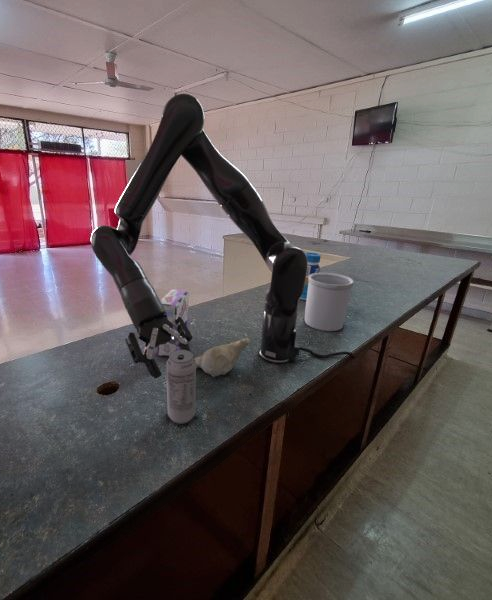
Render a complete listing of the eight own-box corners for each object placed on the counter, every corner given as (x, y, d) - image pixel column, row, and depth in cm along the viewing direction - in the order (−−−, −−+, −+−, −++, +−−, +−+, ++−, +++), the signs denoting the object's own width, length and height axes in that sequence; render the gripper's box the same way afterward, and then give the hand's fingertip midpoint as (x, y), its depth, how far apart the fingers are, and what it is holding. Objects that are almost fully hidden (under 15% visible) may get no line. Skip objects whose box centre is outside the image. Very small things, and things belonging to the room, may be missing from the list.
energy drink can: (196, 407, 72) (197, 349, 66) (193, 426, 66) (193, 364, 61) (170, 405, 72) (169, 347, 67) (164, 424, 66) (163, 362, 61)
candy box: (176, 358, 91) (176, 305, 85) (157, 356, 92) (155, 303, 86) (189, 337, 104) (189, 289, 98) (171, 335, 105) (171, 288, 99)
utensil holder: (337, 336, 107) (347, 287, 101) (296, 324, 116) (302, 278, 109) (349, 322, 118) (358, 277, 112) (310, 312, 127) (317, 270, 120)
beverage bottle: (293, 294, 147) (299, 252, 140) (311, 294, 148) (317, 252, 141) (300, 301, 139) (307, 256, 132) (319, 300, 140) (326, 256, 133)
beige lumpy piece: (191, 390, 81) (237, 367, 74) (180, 363, 83) (224, 338, 76) (220, 378, 94) (261, 358, 87) (210, 355, 96) (250, 334, 89)
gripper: (118, 303, 63) (153, 377, 59) (175, 289, 72) (208, 352, 69) (108, 319, 68) (139, 388, 65) (162, 304, 78) (192, 363, 74)
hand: (175, 369), depth 67 cm, fingers open, 8 cm apart
